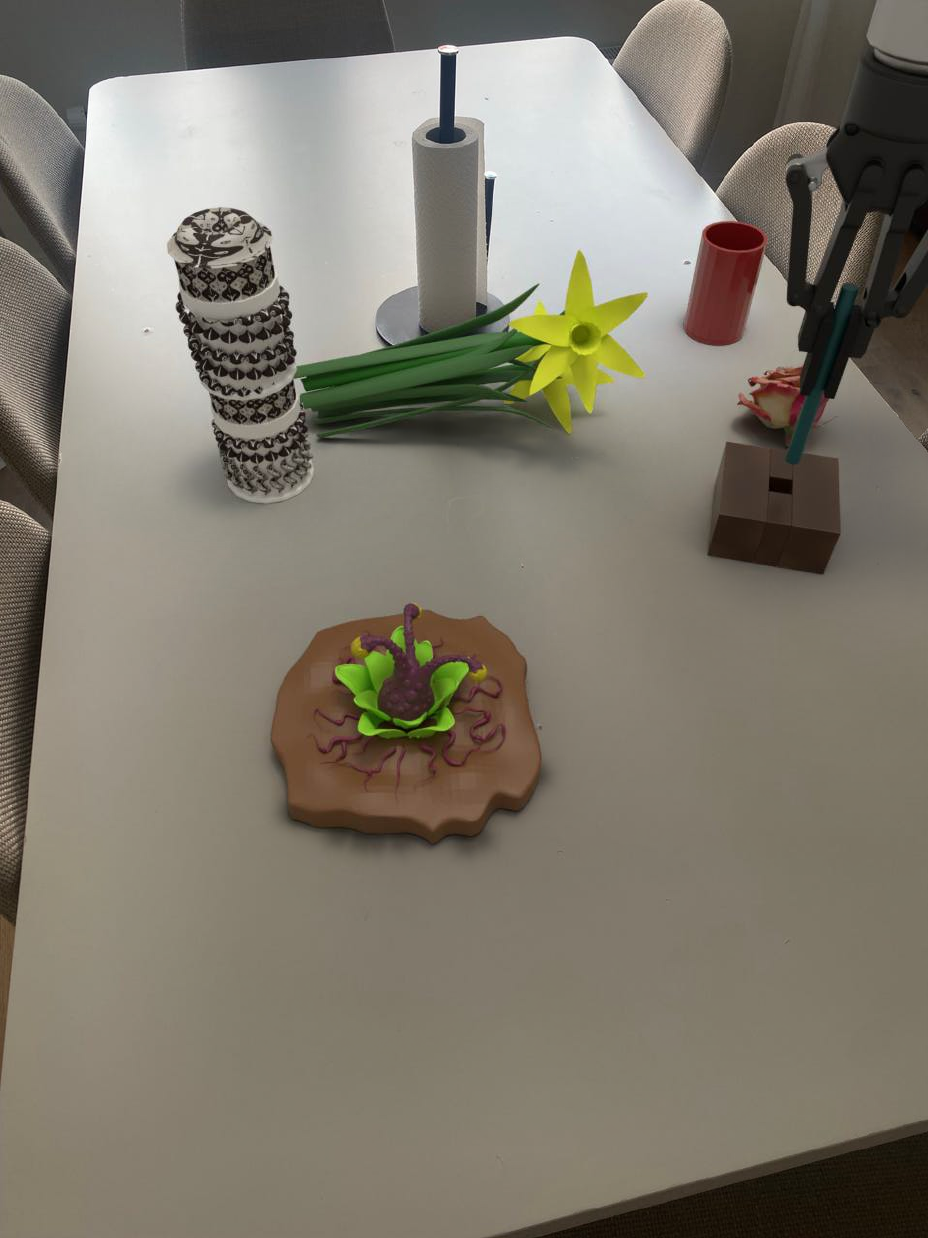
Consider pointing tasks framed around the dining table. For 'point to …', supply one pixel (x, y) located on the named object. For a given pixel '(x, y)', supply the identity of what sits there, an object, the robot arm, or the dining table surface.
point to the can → (724, 282)
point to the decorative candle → (243, 351)
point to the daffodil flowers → (481, 363)
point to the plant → (407, 726)
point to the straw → (822, 373)
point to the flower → (780, 400)
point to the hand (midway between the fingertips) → (817, 386)
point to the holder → (775, 508)
